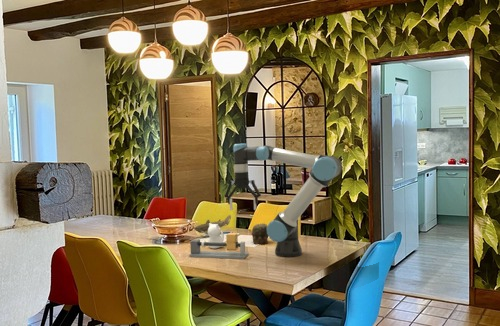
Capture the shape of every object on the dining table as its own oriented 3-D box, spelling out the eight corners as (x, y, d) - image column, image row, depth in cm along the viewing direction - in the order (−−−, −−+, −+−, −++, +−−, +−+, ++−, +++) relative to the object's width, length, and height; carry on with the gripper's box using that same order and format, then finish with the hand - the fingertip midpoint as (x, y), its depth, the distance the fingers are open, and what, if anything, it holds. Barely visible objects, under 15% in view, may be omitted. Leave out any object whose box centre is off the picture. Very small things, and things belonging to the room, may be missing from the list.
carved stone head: (273, 242, 314) (272, 223, 313) (261, 245, 306) (260, 226, 305) (260, 240, 321) (259, 221, 321) (248, 243, 313) (247, 224, 313)
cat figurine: (204, 248, 303) (203, 224, 302) (217, 244, 313) (216, 220, 312) (216, 250, 298) (215, 225, 297) (229, 245, 308) (227, 221, 307)
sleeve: (237, 248, 283) (237, 233, 283) (235, 250, 279) (234, 235, 278) (229, 248, 285) (228, 233, 284) (226, 250, 280) (226, 234, 279)
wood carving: (235, 230, 354) (235, 215, 353) (199, 239, 327) (199, 223, 327) (226, 229, 360) (226, 214, 359) (190, 238, 333) (189, 221, 333)
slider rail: (248, 254, 285) (248, 239, 284) (244, 259, 275) (243, 243, 275) (195, 252, 293) (195, 238, 292) (189, 256, 283) (188, 242, 283)
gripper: (264, 170, 278) (266, 208, 279) (221, 171, 284) (223, 209, 285) (262, 171, 271) (264, 210, 272) (217, 173, 276) (219, 211, 277)
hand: (243, 209), depth 278 cm, fingers open, 13 cm apart
